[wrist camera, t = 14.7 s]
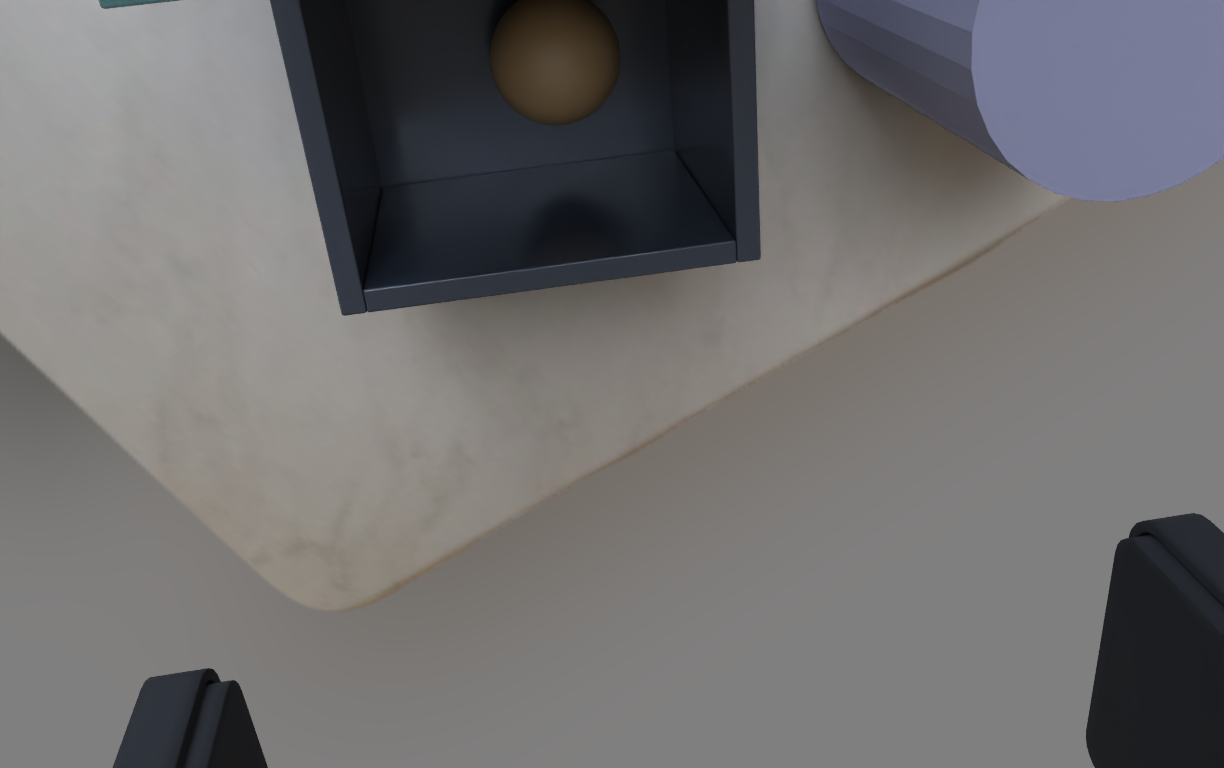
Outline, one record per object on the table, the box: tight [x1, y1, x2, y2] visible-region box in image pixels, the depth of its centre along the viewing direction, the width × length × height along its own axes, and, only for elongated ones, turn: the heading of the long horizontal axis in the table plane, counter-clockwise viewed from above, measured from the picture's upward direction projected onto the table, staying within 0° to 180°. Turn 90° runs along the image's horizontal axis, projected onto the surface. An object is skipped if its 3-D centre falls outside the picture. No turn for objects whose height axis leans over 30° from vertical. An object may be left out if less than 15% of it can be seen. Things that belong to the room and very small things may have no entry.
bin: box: [270, 0, 761, 316], centre depth 37 cm, size 13×14×12 cm
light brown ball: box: [490, 0, 620, 125], centre depth 40 cm, size 5×5×5 cm
